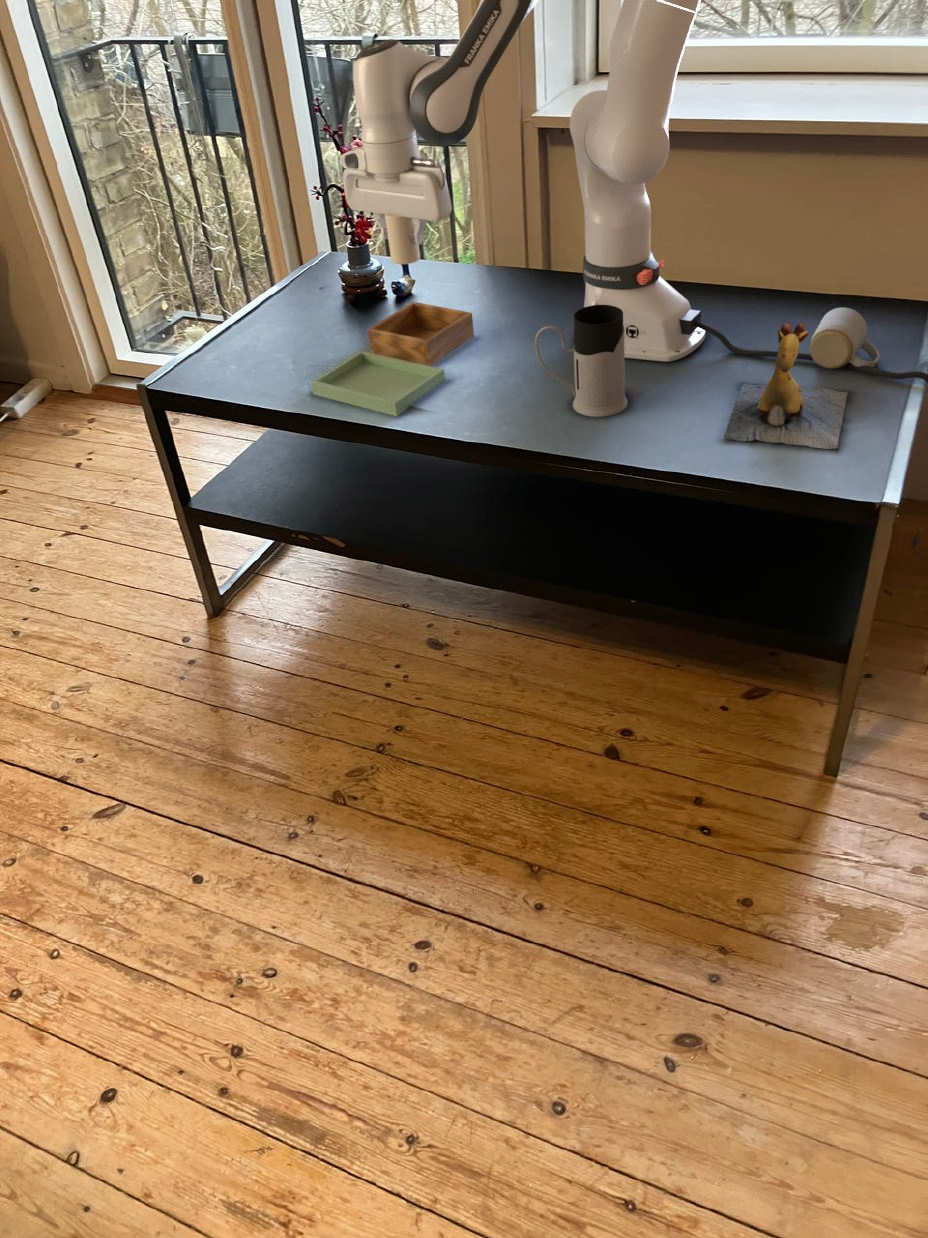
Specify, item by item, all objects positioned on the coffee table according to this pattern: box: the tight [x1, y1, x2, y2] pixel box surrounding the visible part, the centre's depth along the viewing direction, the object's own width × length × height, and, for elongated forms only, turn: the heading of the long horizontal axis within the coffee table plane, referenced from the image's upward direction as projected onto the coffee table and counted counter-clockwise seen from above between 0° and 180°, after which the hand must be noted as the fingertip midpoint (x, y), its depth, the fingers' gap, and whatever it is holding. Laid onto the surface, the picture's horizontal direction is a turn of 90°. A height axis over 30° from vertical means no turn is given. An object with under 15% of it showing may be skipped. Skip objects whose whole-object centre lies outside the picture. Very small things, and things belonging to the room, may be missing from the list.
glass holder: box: [534, 305, 628, 418], centre depth 163 cm, size 9×14×15 cm, turn 89°
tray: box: [310, 350, 446, 417], centre depth 179 cm, size 19×14×2 cm
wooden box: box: [366, 301, 475, 367], centre depth 190 cm, size 14×14×5 cm
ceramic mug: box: [809, 307, 881, 370], centre depth 168 cm, size 11×8×8 cm
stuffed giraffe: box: [723, 322, 848, 450], centre depth 154 cm, size 16×18×16 cm
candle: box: [385, 214, 421, 265], centre depth 177 cm, size 5×5×8 cm
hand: (403, 240), depth 177 cm, fingers closed on candle, 5 cm apart
